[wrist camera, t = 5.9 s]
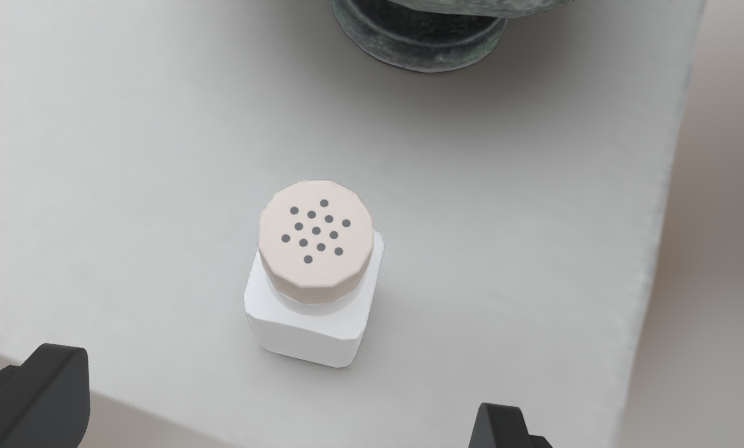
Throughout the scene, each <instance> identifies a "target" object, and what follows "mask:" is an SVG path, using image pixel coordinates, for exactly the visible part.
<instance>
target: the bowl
mask: <svg viewBox="0 0 744 448" xmlns="http://www.w3.org/2000/svg"><path fill="white" fill-rule="evenodd" d="M572 1H574V0H330V3H331V6H332V9H333V12H334V15H335V17H336V19H337V21H338V22H339V24H340V25H341V27H342V29H343V30H344V32H345V33H346V34H347V35H348V36H349V37H350V38H351V39H352V40H353V41H354V42H355V43H356V44H357V45H358V46H359V47H360V48H362V49H363V50H364V51H365V52H367V53H368V54H370V55H372V56H373V57H375V58H377V59H379V60H381V61H383V62H386V63H389V64H391V65H395V66H398V67H402V68H405V69H410V70H415V71H420V72H428V73H434V72H441V71H450V70H454V69H459V68H463V67H466V66H469V65H471V64H473V63H476V62H478V61H479V60H481V59H482V58H483V57H485V56H486V55H488V54H489V53H490V52H491V51H492V50H493V49H494V48H495V47H496V46H497V44H498V42H499V40H500V38H501V36H502V34H503V32H504V30H505V28H506V26H507V24H508V20H509V19H515V18H519V17H523V16H527V15H532V14H536V13H540V12H545V11H548V10H550V9H553V8H555V7H557V6H559V5H567V4H569V3H571V2H572Z"/></svg>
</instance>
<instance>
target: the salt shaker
mask: <svg viewBox="0 0 744 448" xmlns="http://www.w3.org/2000/svg"><path fill="white" fill-rule="evenodd" d="M384 248H385V247H384V243H383V239H382V236H381V235H380V234H379V233H378V232H377V231H376V230H375V229H373V217H372V216H371V214H370V213H369V211H368V210H367V208H366V207H365V205H364V204H363V202H362V201H361V199H360V198H359V196H358V195H357V194H356V193H354V192H352V191H350V190H349V189H347V188H345V187H343V186H341V185H339V184H337V183H335V182H333V181H331V180H301V181H299V182H297V183H295V184H293V185H291V186H289V187H287V188H285V189H283V190H281V191H279V192H277V193H275V194H274V196H273V197H272V199H271V200H270V202H269V203H268V205H267V206H266V207H265V209H264V210H263V212H262V213H261V215H260V216H259V221H258V250H257V253H256V256H255V259H254V262H253V265H252V269H251V272H250V275H249V279H248V282H247V286H246V290H245V293H244V297H243V300H244V308H245V314H246V316H247V318H248V321H249V323H250V325H251V327H252V330H253V332H254V334H255V336H256V339H257V341H258V343H259V345H261V346H262V347H263V348H265V349H266V350H267V351H270V352H274V353H278V354H282V355H286V356H290V357H294V358H298V359H302V360H306V361H311V362H315V363H319V364H323V365H327V366H331V367H335V368H340V367H346V366H349V365H350V363H351V362H352V361H353V359H354V358H355V356H356V353H357V351H358V348H359V345H360V343H361V340H362V337H363V335H364V332H365V329H366V326H367V321H368V317H369V313H370V309H371V305H372V301H373V296H374V292H375V288H376V284H377V279H378V275H379V271H380V266H381V262H382V257H383V253H384Z"/></svg>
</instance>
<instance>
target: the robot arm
mask: <svg viewBox="0 0 744 448" xmlns="http://www.w3.org/2000/svg"><path fill="white" fill-rule="evenodd" d="M89 416H90V394H89V371H88V355H87V352H86V350H85V349H84V348H79V347H71V346H64V345H56V344H49V343H44V344H42V345H40V346H39V347H38V348H37V349H36V350H35V351H34V352H33V354H32V355H31V356H30V357H29V358H28V359H27V360H26V361H25V362H24V363H23V364H22V365H21V366H13V365H9V366H7V367H6V368H3V369H2V370H0V448H77V447H78V445H79V444H80V442H81V440H82V438H83V436H84V434H85V432H86V429H87V425H88V421H89ZM468 448H553V447H552V446H551V445H550V444H549V442H548V441H547V440H546V439H545V438H544V437H543V436H535V435H529V434H528V430H527V427H526V424H525V421H524V418H523V415H522V412H521V410H520V408H519V407H513V406H506V405H498V404H491V403H482V404H481V405H480V407H479V410H478V413H477V417H476V421H475V425H474V428H473V432H472V436H471V440H470V443H469V447H468Z"/></svg>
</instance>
